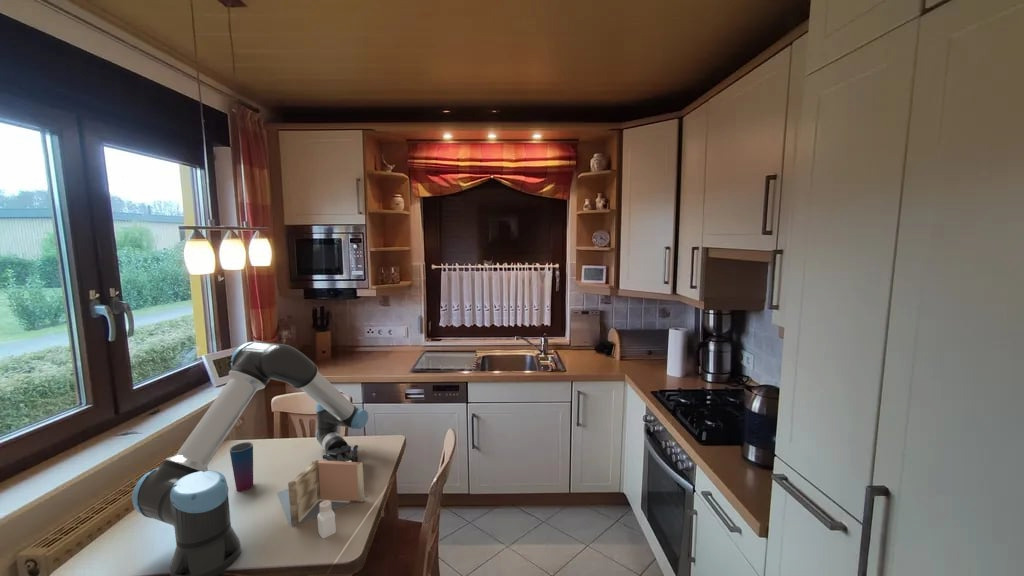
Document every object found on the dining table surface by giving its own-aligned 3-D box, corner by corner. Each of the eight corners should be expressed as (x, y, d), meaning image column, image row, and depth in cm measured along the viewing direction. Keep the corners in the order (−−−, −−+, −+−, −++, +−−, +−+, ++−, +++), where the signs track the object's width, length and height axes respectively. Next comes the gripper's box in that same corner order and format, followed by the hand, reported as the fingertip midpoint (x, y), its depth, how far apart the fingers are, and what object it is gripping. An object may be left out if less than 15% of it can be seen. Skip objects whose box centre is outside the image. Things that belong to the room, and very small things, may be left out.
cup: (230, 487, 143) (227, 447, 141) (253, 479, 148) (249, 439, 146) (236, 495, 139) (232, 453, 137) (258, 486, 143) (255, 446, 142)
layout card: (290, 528, 122) (290, 526, 122) (276, 493, 139) (276, 492, 139) (366, 497, 137) (366, 496, 137) (346, 469, 154) (346, 468, 154)
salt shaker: (331, 526, 123) (329, 497, 122) (336, 533, 120) (334, 503, 119) (317, 533, 120) (315, 503, 119) (322, 540, 117) (320, 509, 116)
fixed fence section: (316, 496, 137) (314, 459, 136) (322, 496, 137) (319, 460, 135) (289, 525, 123) (286, 484, 122) (296, 525, 123) (292, 485, 122)
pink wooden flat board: (320, 499, 135) (317, 462, 133) (323, 495, 137) (320, 460, 135) (362, 501, 133) (360, 465, 132) (365, 498, 135) (363, 462, 133)
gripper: (352, 449, 163) (373, 475, 144) (317, 460, 155) (335, 490, 136) (351, 431, 162) (372, 455, 143) (316, 441, 154) (333, 468, 135)
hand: (354, 472), depth 140 cm, fingers closed
